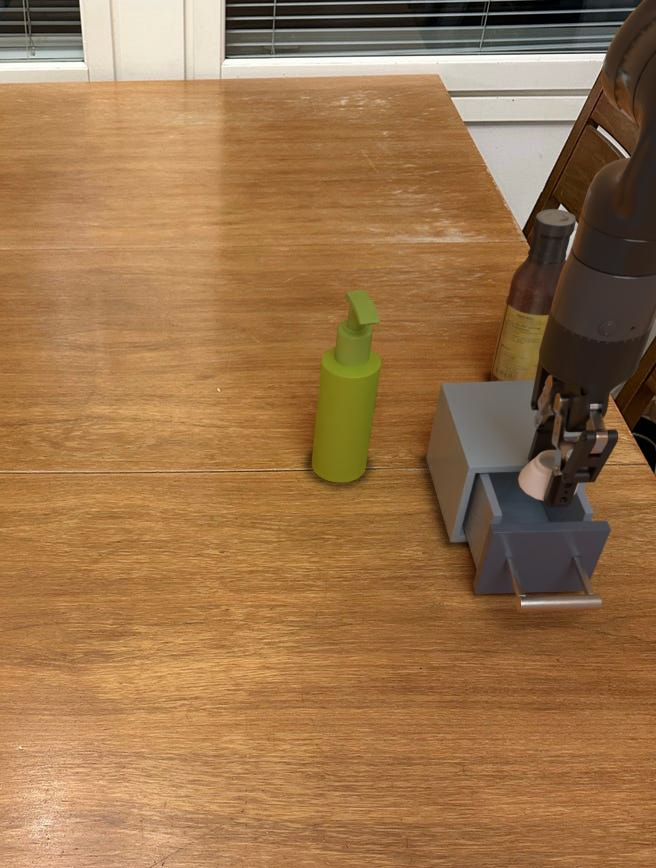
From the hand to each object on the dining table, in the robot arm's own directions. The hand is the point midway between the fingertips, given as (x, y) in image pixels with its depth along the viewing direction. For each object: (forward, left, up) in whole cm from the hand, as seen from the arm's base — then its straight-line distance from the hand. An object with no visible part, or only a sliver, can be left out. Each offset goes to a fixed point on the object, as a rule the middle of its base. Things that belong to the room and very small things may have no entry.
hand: (547, 483), depth 87 cm
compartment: (0, +1, -10) cm, 10 cm away
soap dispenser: (+22, -6, -11) cm, 25 cm away
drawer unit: (+6, -9, -11) cm, 15 cm away
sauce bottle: (+10, -30, -11) cm, 33 cm away
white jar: (0, 0, -1) cm, 1 cm away
